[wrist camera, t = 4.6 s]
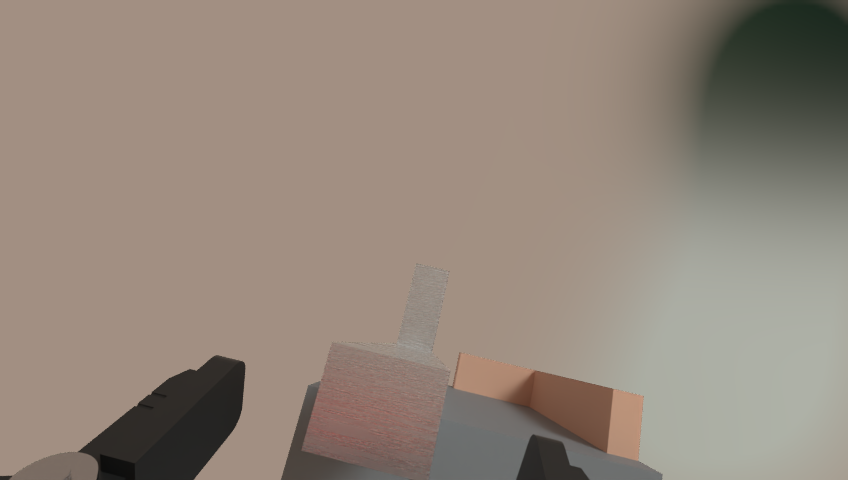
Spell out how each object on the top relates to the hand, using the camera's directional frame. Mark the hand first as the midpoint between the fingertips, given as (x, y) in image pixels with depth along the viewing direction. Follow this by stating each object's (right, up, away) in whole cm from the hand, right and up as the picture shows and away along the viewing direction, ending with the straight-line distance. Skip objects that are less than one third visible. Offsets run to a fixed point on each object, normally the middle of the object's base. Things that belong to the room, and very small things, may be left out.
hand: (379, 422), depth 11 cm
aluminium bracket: (0, -4, +11) cm, 11 cm away
